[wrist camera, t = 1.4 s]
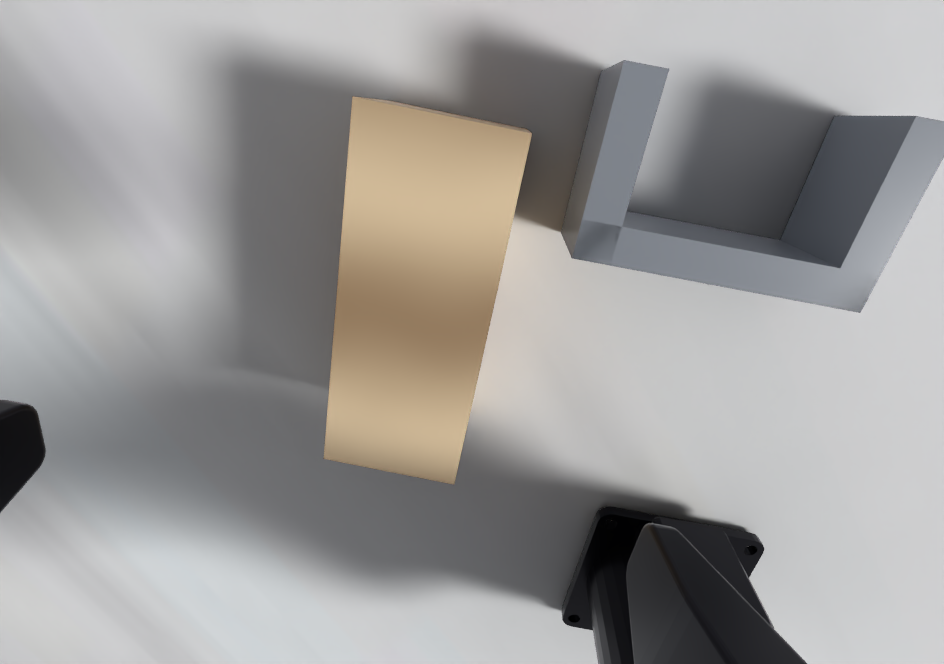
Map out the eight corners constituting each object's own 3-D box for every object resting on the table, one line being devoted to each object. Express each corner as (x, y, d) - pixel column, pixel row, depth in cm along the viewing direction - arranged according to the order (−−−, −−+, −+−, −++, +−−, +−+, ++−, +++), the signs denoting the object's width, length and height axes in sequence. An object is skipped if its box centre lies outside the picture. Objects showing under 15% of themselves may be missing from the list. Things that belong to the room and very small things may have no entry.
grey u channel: (798, 277, 15) (860, 312, 13) (561, 232, 15) (571, 258, 13) (869, 122, 14) (961, 124, 11) (601, 70, 14) (624, 60, 11)
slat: (465, 411, 19) (454, 484, 15) (360, 390, 19) (323, 458, 15) (526, 128, 14) (531, 133, 11) (392, 101, 14) (352, 96, 11)
